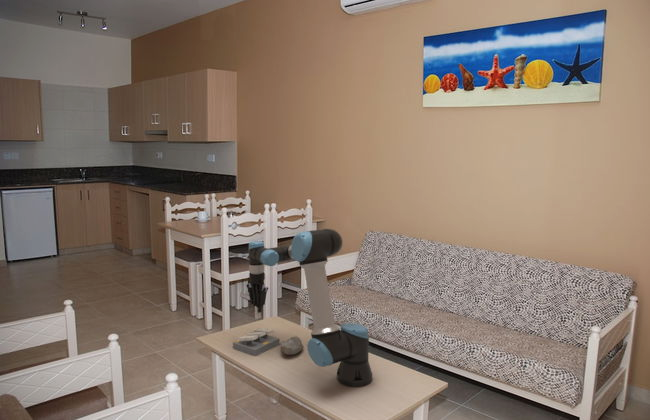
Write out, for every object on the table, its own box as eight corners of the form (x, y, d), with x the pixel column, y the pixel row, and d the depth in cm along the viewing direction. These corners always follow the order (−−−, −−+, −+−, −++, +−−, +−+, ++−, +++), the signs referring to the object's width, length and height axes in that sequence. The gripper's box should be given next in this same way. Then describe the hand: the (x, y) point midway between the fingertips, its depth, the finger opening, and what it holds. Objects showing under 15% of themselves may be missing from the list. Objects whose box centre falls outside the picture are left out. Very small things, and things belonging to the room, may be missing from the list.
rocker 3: (273, 333, 244) (273, 329, 244) (268, 335, 242) (268, 331, 241) (259, 331, 250) (258, 327, 250) (254, 333, 248) (253, 329, 247)
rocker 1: (258, 338, 236) (257, 335, 236) (252, 341, 233) (252, 337, 233) (244, 339, 242) (243, 336, 242) (238, 341, 239) (237, 338, 239)
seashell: (294, 334, 245) (279, 326, 233) (311, 345, 238) (297, 337, 227) (284, 351, 243) (268, 343, 231) (301, 363, 236) (286, 355, 224)
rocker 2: (266, 334, 240) (265, 331, 240) (261, 337, 237) (260, 333, 237) (252, 335, 246) (251, 332, 246) (246, 338, 243) (246, 334, 243)
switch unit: (279, 344, 245) (279, 334, 244) (255, 356, 231) (255, 346, 230) (257, 337, 253) (257, 328, 253) (232, 348, 240) (232, 339, 239)
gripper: (271, 272, 243) (272, 318, 246) (252, 268, 250) (253, 313, 254) (261, 275, 237) (262, 323, 240) (242, 271, 244) (243, 317, 248)
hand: (258, 318), depth 247 cm, fingers closed
